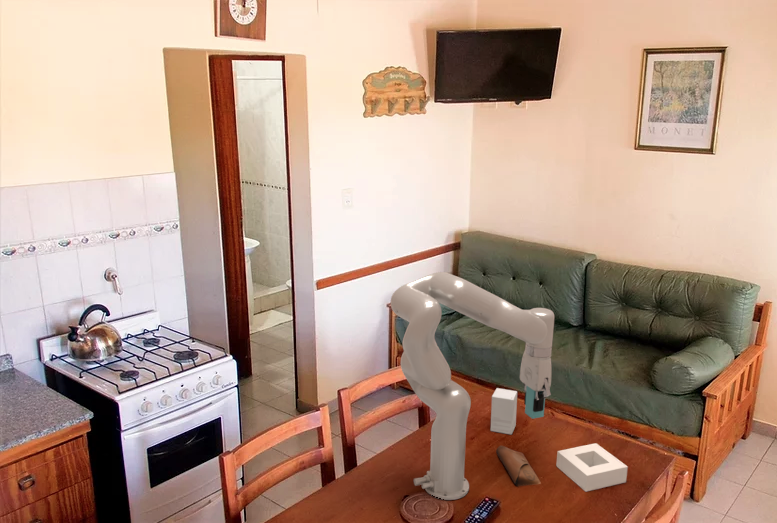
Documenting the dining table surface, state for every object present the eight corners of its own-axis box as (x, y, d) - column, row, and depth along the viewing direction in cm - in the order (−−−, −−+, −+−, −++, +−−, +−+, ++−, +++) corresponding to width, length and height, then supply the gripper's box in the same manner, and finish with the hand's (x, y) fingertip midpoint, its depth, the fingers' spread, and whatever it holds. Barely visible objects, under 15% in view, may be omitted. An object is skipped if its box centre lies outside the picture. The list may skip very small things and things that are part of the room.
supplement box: (516, 425, 217) (518, 391, 214) (511, 435, 210) (513, 400, 207) (494, 421, 219) (496, 387, 216) (489, 431, 213) (491, 395, 210)
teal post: (532, 418, 190) (534, 390, 188) (524, 412, 193) (526, 385, 191) (543, 416, 191) (545, 388, 189) (536, 410, 195) (538, 383, 193)
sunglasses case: (543, 484, 183) (533, 467, 181) (522, 497, 182) (512, 480, 181) (521, 451, 200) (511, 435, 198) (502, 463, 200) (492, 447, 198)
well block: (585, 491, 179) (587, 475, 178) (556, 466, 192) (557, 451, 191) (625, 482, 184) (627, 466, 183) (594, 457, 197) (596, 443, 196)
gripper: (512, 341, 194) (508, 397, 198) (543, 361, 179) (538, 421, 183) (533, 339, 196) (528, 394, 201) (566, 358, 181) (560, 418, 185)
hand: (533, 407), depth 192 cm, fingers closed on teal post, 4 cm apart
